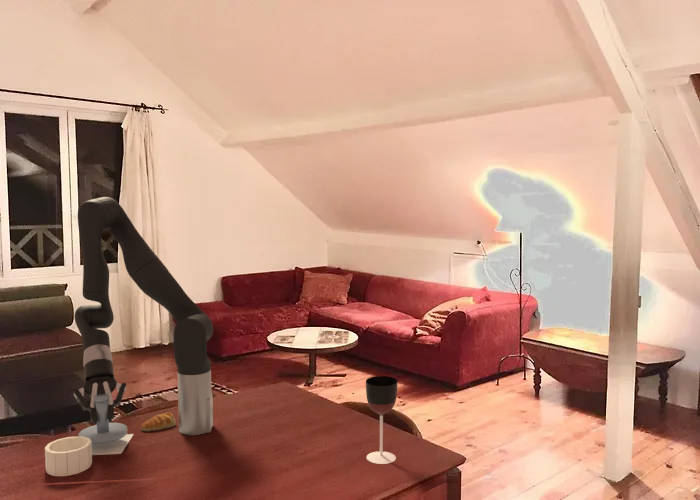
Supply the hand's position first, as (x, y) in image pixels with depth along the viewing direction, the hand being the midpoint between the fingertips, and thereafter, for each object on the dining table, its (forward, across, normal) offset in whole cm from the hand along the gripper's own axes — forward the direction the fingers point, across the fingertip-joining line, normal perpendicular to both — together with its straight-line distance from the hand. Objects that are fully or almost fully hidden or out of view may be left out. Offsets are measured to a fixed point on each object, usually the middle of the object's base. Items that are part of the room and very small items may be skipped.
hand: (103, 421), depth 156 cm
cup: (+11, -8, -1) cm, 14 cm away
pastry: (-1, +16, +12) cm, 20 cm away
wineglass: (+32, +63, -20) cm, 74 cm away
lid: (+2, 0, +5) cm, 5 cm away
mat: (+4, 0, +7) cm, 8 cm away
